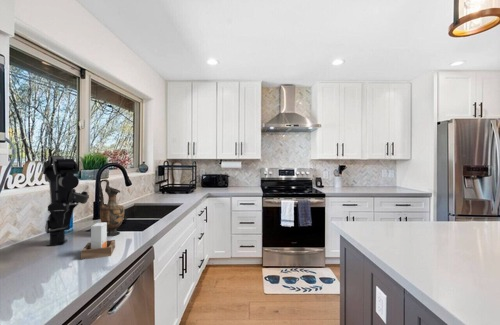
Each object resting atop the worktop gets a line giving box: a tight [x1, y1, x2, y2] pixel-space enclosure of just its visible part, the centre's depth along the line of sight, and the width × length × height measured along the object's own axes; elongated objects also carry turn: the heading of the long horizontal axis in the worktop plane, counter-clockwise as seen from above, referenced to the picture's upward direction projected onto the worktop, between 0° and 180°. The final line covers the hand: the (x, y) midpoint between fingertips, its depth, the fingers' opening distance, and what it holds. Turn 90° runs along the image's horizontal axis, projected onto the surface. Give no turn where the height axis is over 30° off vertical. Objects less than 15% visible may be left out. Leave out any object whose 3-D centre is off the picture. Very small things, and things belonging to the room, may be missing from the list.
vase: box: [97, 179, 125, 237], centre depth 131 cm, size 12×12×30 cm
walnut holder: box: [80, 239, 116, 261], centre depth 104 cm, size 11×11×4 cm
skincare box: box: [90, 222, 108, 249], centre depth 104 cm, size 6×4×12 cm
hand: (65, 223), depth 104 cm, fingers open, 9 cm apart
